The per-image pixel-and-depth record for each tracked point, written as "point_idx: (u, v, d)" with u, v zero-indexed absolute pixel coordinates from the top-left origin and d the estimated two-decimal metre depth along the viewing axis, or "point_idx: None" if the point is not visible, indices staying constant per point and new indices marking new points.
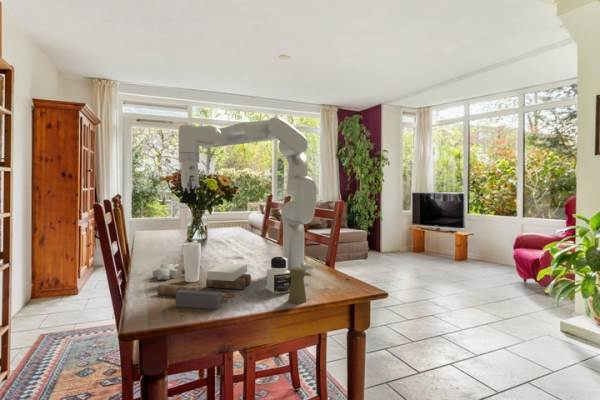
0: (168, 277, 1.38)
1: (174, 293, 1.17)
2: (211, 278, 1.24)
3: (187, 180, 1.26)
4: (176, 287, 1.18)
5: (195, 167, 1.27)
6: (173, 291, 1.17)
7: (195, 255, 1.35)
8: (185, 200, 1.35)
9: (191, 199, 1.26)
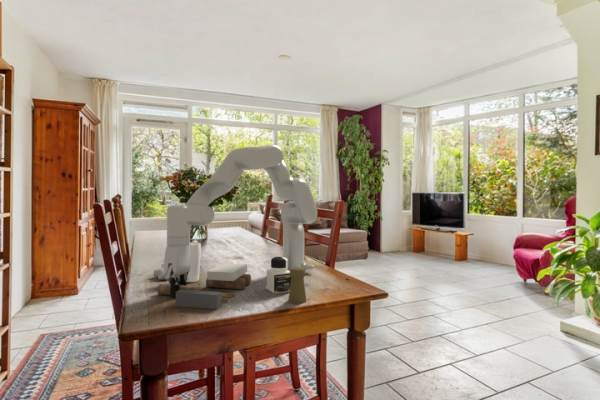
0: None
1: None
2: (211, 278, 1.24)
3: None
4: None
5: None
6: None
7: (195, 255, 1.35)
8: None
9: None
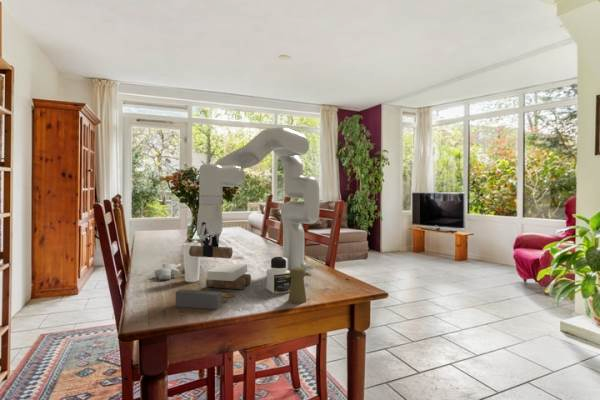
0: (169, 277, 1.39)
1: None
2: (211, 278, 1.24)
3: None
4: None
5: None
6: None
7: None
8: None
9: None
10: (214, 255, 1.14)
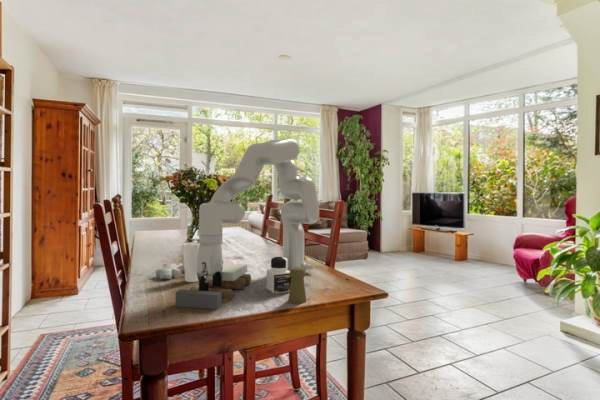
0: (170, 277, 1.39)
1: None
2: (211, 278, 1.24)
3: None
4: None
5: None
6: None
7: (195, 255, 1.35)
8: None
9: None
10: None
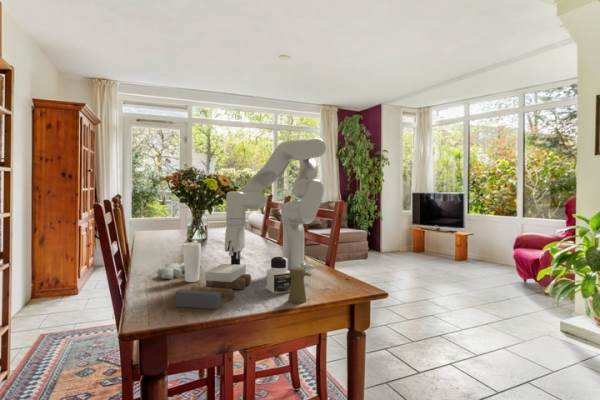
0: (172, 276, 1.39)
1: None
2: (209, 279, 1.22)
3: None
4: (210, 288, 1.16)
5: None
6: None
7: (195, 255, 1.35)
8: None
9: None
10: None
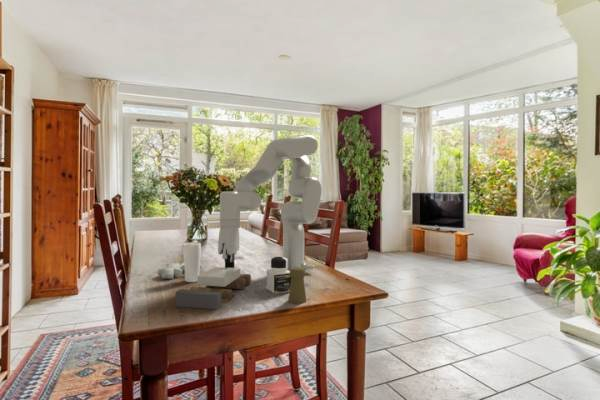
0: (172, 276, 1.39)
1: None
2: (201, 283, 1.17)
3: None
4: (208, 290, 1.15)
5: None
6: None
7: (195, 255, 1.35)
8: None
9: None
10: None
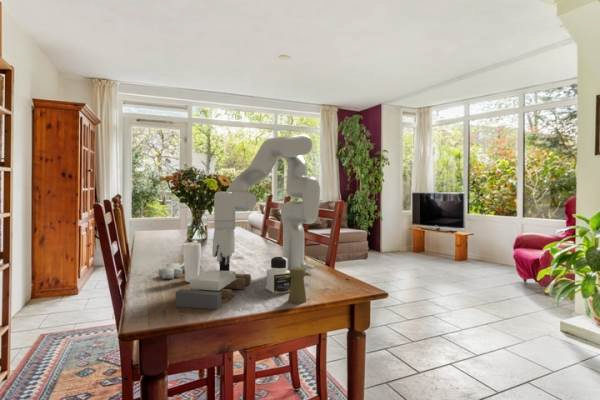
0: (172, 276, 1.40)
1: None
2: (194, 287, 1.12)
3: None
4: (208, 290, 1.15)
5: None
6: None
7: (195, 255, 1.35)
8: None
9: None
10: None
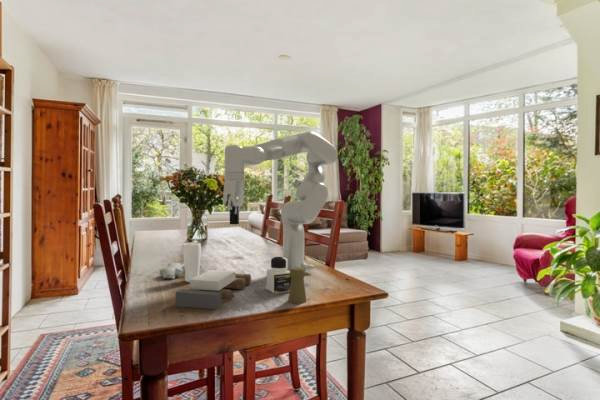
0: (173, 276, 1.40)
1: None
2: (194, 287, 1.12)
3: None
4: None
5: None
6: None
7: (195, 255, 1.35)
8: None
9: None
10: None
